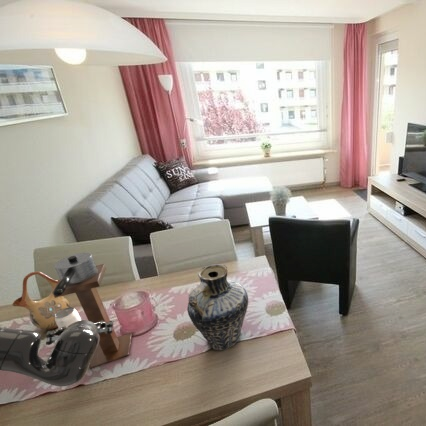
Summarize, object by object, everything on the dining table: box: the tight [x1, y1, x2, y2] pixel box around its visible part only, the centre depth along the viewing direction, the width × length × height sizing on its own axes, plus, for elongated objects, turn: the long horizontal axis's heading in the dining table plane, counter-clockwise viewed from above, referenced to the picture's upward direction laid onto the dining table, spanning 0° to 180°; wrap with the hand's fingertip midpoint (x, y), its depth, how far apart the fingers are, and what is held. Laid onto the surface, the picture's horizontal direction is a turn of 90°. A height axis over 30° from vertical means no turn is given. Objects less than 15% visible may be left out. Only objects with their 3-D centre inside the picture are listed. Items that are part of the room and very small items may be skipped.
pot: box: [53, 252, 98, 296], centre depth 85 cm, size 9×20×7 cm, turn 25°
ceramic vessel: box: [12, 271, 72, 331], centre depth 112 cm, size 16×9×25 cm, turn 153°
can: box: [55, 306, 82, 329], centre depth 108 cm, size 6×6×12 cm
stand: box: [51, 263, 133, 369], centre depth 97 cm, size 11×11×32 cm
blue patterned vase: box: [187, 263, 249, 351], centre depth 100 cm, size 21×19×30 cm
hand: (83, 327), depth 85 cm, fingers open, 8 cm apart
